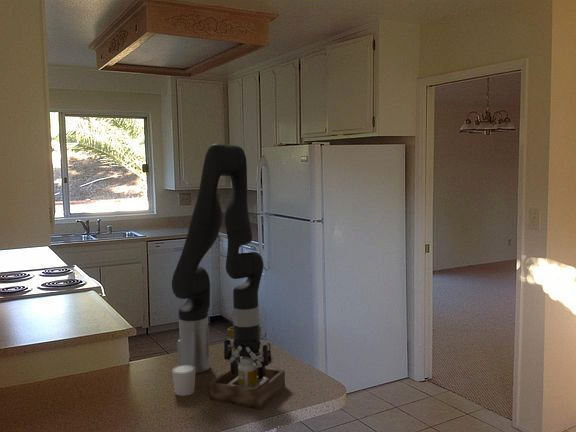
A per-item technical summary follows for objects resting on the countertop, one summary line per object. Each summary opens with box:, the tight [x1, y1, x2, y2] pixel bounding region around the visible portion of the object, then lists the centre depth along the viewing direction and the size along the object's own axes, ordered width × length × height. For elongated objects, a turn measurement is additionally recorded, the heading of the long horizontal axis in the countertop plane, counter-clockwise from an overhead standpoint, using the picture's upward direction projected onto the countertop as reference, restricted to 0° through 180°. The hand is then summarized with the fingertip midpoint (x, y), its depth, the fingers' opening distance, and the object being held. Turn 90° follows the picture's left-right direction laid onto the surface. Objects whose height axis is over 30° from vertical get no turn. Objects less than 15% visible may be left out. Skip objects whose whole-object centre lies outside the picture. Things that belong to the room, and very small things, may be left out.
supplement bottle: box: [238, 355, 257, 388], centre depth 158 cm, size 5×5×10 cm
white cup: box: [171, 365, 196, 397], centre depth 161 cm, size 7×7×7 cm
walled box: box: [209, 362, 286, 410], centre depth 159 cm, size 16×16×5 cm
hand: (248, 376), depth 158 cm, fingers open, 8 cm apart
